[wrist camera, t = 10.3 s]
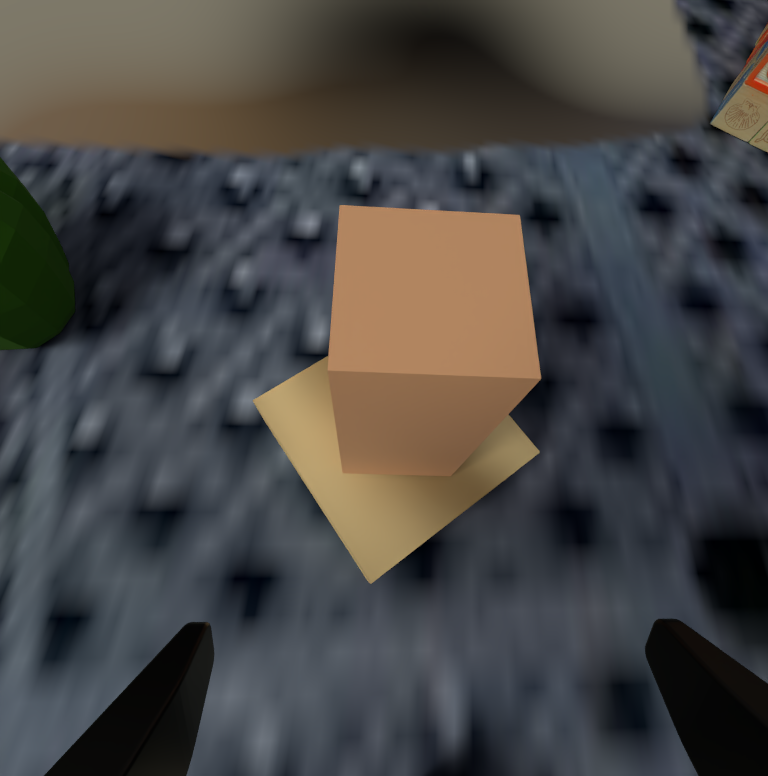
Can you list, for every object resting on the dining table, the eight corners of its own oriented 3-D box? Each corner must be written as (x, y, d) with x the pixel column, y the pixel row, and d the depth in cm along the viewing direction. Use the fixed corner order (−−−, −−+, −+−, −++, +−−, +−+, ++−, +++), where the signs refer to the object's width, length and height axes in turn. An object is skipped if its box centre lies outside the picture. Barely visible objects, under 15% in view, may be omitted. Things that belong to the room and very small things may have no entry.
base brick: (367, 581, 20) (370, 583, 17) (266, 424, 23) (252, 400, 19) (513, 468, 23) (540, 452, 19) (408, 338, 25) (416, 303, 22)
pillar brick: (450, 476, 19) (541, 378, 9) (342, 473, 18) (327, 370, 9) (446, 378, 20) (519, 215, 11) (347, 374, 20) (340, 204, 11)
